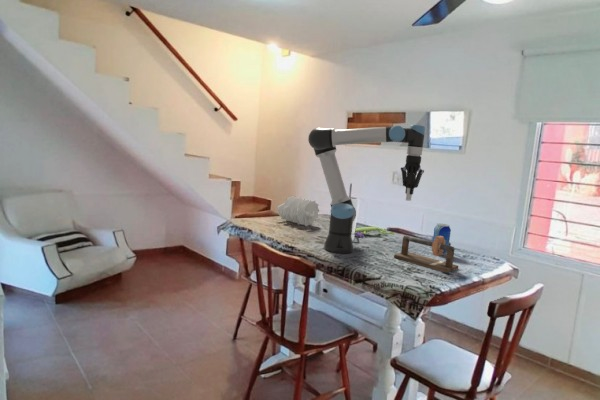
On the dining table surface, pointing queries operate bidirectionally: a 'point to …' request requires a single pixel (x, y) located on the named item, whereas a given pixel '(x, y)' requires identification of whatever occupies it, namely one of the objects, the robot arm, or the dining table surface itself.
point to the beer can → (442, 234)
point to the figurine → (368, 229)
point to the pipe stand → (427, 261)
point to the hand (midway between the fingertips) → (408, 200)
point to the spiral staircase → (299, 211)
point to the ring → (436, 243)
